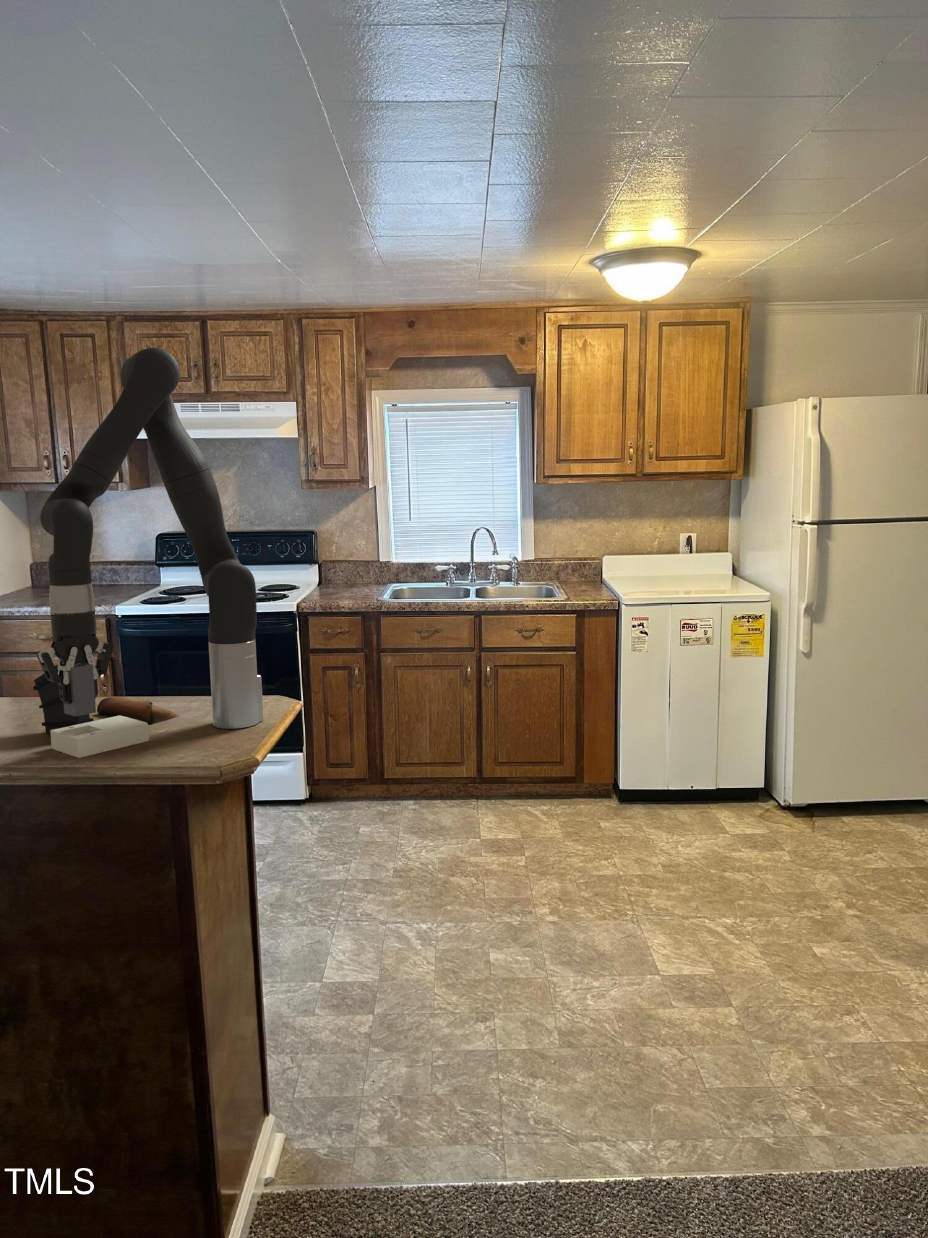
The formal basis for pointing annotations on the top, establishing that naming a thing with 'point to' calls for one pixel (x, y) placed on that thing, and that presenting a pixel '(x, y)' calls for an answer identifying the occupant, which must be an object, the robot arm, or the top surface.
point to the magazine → (55, 706)
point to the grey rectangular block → (81, 691)
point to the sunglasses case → (134, 709)
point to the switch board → (99, 736)
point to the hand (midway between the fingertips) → (79, 700)
